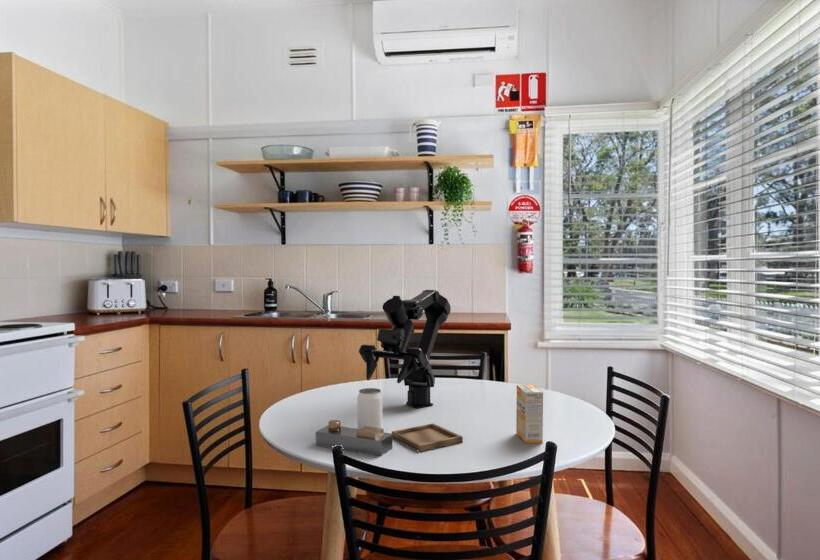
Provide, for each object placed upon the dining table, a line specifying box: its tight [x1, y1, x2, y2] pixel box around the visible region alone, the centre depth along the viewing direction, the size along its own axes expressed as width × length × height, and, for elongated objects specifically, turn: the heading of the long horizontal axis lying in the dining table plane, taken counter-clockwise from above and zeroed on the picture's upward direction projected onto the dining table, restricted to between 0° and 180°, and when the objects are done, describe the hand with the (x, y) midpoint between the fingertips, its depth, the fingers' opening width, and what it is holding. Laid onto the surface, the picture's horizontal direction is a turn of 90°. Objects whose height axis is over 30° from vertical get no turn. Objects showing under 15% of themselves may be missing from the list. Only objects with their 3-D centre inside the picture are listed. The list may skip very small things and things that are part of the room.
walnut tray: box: [391, 423, 464, 453], centre depth 136 cm, size 13×13×2 cm
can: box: [356, 387, 383, 429], centre depth 138 cm, size 6×6×12 cm
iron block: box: [315, 419, 393, 457], centre depth 130 cm, size 18×6×6 cm, turn 67°
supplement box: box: [515, 384, 544, 444], centre depth 137 cm, size 8×5×13 cm, turn 5°
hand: (382, 381), depth 145 cm, fingers open, 9 cm apart
